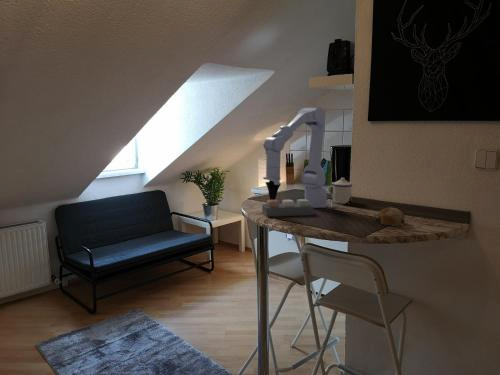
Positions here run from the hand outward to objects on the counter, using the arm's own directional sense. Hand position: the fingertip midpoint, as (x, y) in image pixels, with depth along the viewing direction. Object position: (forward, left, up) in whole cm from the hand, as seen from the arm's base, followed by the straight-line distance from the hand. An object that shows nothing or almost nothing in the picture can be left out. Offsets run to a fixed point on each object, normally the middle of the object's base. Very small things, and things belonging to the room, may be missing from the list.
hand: (272, 199), depth 170 cm
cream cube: (-6, 0, -4) cm, 8 cm away
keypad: (-7, 0, -6) cm, 9 cm away
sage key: (-13, 0, -4) cm, 14 cm away
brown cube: (0, 0, -4) cm, 4 cm away
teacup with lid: (-38, -20, -6) cm, 43 cm away
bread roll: (-41, +21, -7) cm, 47 cm away
